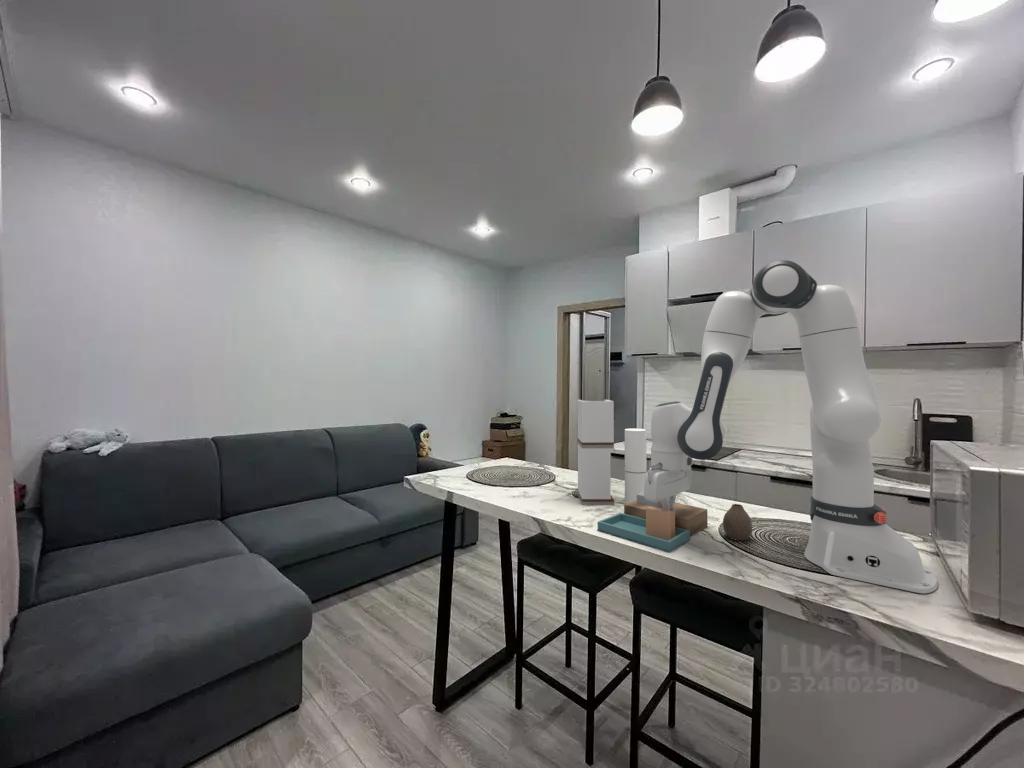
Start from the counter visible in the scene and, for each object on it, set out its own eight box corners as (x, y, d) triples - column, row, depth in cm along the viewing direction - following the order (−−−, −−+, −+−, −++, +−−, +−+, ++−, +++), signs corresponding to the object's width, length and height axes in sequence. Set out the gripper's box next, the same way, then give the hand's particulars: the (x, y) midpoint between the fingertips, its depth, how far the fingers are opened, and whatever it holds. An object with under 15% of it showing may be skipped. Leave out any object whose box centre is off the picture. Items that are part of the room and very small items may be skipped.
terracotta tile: (675, 511, 111) (670, 513, 109) (675, 538, 111) (670, 540, 109) (650, 506, 116) (645, 507, 114) (650, 531, 116) (645, 533, 114)
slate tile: (669, 502, 127) (669, 494, 127) (658, 507, 122) (658, 499, 122) (648, 498, 132) (648, 490, 132) (636, 502, 128) (636, 494, 127)
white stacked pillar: (614, 505, 142) (613, 401, 141) (582, 505, 142) (581, 401, 142) (607, 495, 153) (606, 399, 153) (577, 495, 154) (577, 399, 153)
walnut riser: (707, 526, 121) (707, 509, 121) (687, 538, 112) (687, 519, 112) (646, 511, 134) (646, 496, 134) (624, 521, 126) (624, 504, 126)
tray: (690, 540, 111) (690, 530, 111) (669, 552, 103) (669, 542, 103) (620, 520, 126) (620, 512, 126) (597, 530, 118) (597, 521, 118)
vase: (723, 531, 117) (723, 500, 117) (752, 536, 113) (752, 503, 113) (721, 539, 111) (721, 506, 111) (752, 545, 107) (751, 510, 107)
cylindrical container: (644, 499, 148) (643, 428, 148) (648, 505, 141) (648, 430, 141) (623, 499, 149) (623, 428, 149) (626, 505, 142) (626, 430, 142)
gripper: (660, 468, 105) (660, 523, 106) (695, 457, 119) (695, 506, 120) (637, 464, 110) (637, 517, 110) (674, 455, 124) (674, 501, 124)
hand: (668, 511), depth 115 cm, fingers closed
